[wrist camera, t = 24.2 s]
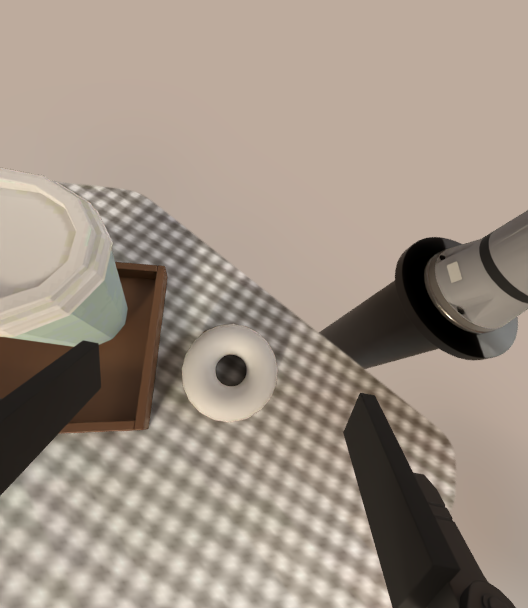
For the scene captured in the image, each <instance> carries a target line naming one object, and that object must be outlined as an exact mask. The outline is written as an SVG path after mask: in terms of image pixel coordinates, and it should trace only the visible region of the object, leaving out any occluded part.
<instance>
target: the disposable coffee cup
mask: <svg viewBox="0 0 528 608" xmlns="http://www.w3.org/2000/svg"><path fill="white" fill-rule="evenodd" d="M112 245H113V242H112V240H111V238H110V236H109V233H108V231H107V229H106V227H105V225H104V223H103V221H102V219H101V217H100V215H99V213H98V211H97V210H95V209H94V207H93V206H92V204H91V203H90V202H88V201H87V200H85V199H84V198H82V197H80V196H79V195H77V194H75V193H74V192H72V191H70V190H69V189H67V188H65V187H64V186H62V185H61V184H59V183H57V182H56V181H51V180H49V179H48V178H46V177H45V176H41V175H36V174H31V173H26V172H21V171H16V170H11V169H6V168H1V167H0V337H8V338H15V339H22V340H29V341H36V342H44V343H51V344H58V345H65V346H72V347H74V346H76V345H77V344H79V343H80V342H81V341H83V340H85V341H90V342H95V343H99V345H100V344H102V343H104V342H107V341H109V340H111V339H113V338H114V337H115V336H116V334H117V333H118V332H119V331H120V330H121V329H122V327H123V326H124V325H125V321H126V316H127V311H128V307H127V304H126V300H125V296H124V293H123V289H122V286H121V282H120V278H119V275H118V271H117V268H116V264H115V260H114V257H113V253H112V250H111V249H112Z"/></svg>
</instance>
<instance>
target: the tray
mask: <svg viewBox="0 0 528 608" xmlns="http://www.w3.org/2000/svg"><path fill="white" fill-rule="evenodd" d="M115 264H116V268H117V271H118V275H119V278H120V282H121V286H122V289H123V293H124V296H125V300H126V304H127V307H128V311H127V316H126V321H125V325H124V326H123V327H122V329H121V330H120V331H119V332H118V333H117V334H116V336H115V337H114V338H113V339H111V340H109V341H107V342H104V343H102V344H100V345H99V356H100V374H101V389H100V390H99V391H98V392H97V393H96V394H95V395H94V396H93V397H92V398H91V399H90V400H89V401H88V402H87V404H86V405H85V406H84V407H83V408H82V409H81V410H80V411H79V412H78V413H77V414H76V415H75V416H74V417H73V418H72V420H71V421H70V422H69V423H68V424H67V425H66V426H65V427H64V428H63V429H62V430H61V431H60V432H59V433H58V434H62V433H85V432H107V431H130V430H144V429H148V428H149V422H150V414H151V406H152V397H153V389H154V381H155V373H156V365H157V357H158V349H159V341H160V333H161V325H162V317H163V309H164V301H165V293H166V285H167V273H166V268H165V266H157V265H145V264H133V263H121V262H115ZM72 348H73V347H72V346H65V345H58V344H51V343H44V342H36V341H29V340H22V339H15V338H8V337H0V398H2V399H3V398H4V397H5V396H7V395H8V394H10V393H11V392H12V391H14V390H15V389H16V388H18V387H19V386H21V385H22V384H23V383H25V382H26V381H28V380H29V379H30V378H32V377H33V376H34V375H36V374H37V373H39V372H40V371H41V370H43V369H44V368H45V367H47V366H48V365H50V364H51V363H52V362H54V361H55V360H56V359H58V358H59V357H61V356H62V355H63V354H65V353H66V352H68V351H69V350H70V349H72Z"/></svg>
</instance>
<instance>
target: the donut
mask: <svg viewBox="0 0 528 608" xmlns="http://www.w3.org/2000/svg"><path fill="white" fill-rule="evenodd" d="M226 355H236V356H238V357H240V358H241V359H242V360H243V361H244V362H245V364H246V367H247V374H246V377H245V379H244V380H243V381H242V382H241V383H240V384H238V385H237V386H232V387H230V386H225V385H224V384H222V383H221V382H220V381H219V380H218V379H217V376H216V372H215V369H216V365H217V363H218V361H219V360H220V359H221V358H222V357H224V356H226ZM277 373H278V368H277V363H276V358H275V354H274V353H273V351H272V349H271V347H270V345H269V343H268V342H267V341H266V340H265V339H264V338H263V337H262V336H261V335H260V334H259V333H257V332H256V331H254V330H252V329H250V328H248V327H246V326H241V325H235V324H228V325H219V326H216V327H214V328H212V329H209V330H207V331H205V332H204V333H203V334H202V335H200V336H199V337H198V338H197V339H196V340H195V341H194V342H193V344H192V345H191V347H190V348H189V350H188V352H187V353H186V355H185V359H184V363H183V367H182V380H183V387H184V390H185V392H186V394H187V397H188V399H189V401H190V402H191V403H192V404H193V405H194V406H195V408H196V409H197V410H198V411H199V412H200V413H202V414H204V415H206V416H208V417H210V418H211V419H213V420H217V421H225V422H234V421H239V420H244V419H247V418H249V417H250V416H252V415H254V414H255V413H257V412H259V411H260V410H261V409H262V408H263V406H264V405H265V404H266V403H267V402H268V401H269V399H270V398H271V396H272V393H273V391H274V389H275V386H276V383H277Z"/></svg>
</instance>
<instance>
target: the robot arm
mask: <svg viewBox="0 0 528 608" xmlns="http://www.w3.org/2000/svg"><path fill="white" fill-rule="evenodd" d="M423 285H424V289H425V292H426V295H427V297H428V299H429V301H430V302H431V304H432V306H433V307H434V308H435V310H436V311H437V312H438V313H439V314H440V316H441V317H442V318H444V319H445V320H446V321H447V322H448V323H449V324H451V325H452V326H454V327H456V328H457V329H459V330H461V331H464V332H467V333H470V334H484V333H488V332H491V331H495V330H497V329H499V328H501V327H503V326H504V325H506V324H507V323H509V322H510V321H511V320H513V319H514V318H516V317H517V316H518V315H520V314H521V313H523V312H524V311H525V310H527V309H528V210H527V211H526V212H524V213H523V214H521V215H519V216H518V217H516V218H514V219H513V220H512V221H509V222H508V223H506V224H505V225H503V226H501V227H500V228H498V229H496V230H495V231H493V232H492V233H490V234H489V235H487V236H485V237H483V238H482V239H480V240H476V241H473V242H470V243H466V244H463V245H459V246H456V247H453V248H449V249H446V250H444V251H442V252H439V253H438V254H436V255H435V256H433V257H432V258H430V259H429V260H428V261H427V263H426V264H425V266H424V269H423ZM100 389H101V374H100V356H99V343H95V342H90V341H85V340H83V341H81V342H80V343H79V344H77V345H76V346H74V347H73V348H72V349H70V350H69V351H68V352H66V353H65V354H63V355H62V356H61V357H59V358H58V359H56V360H55V361H54V362H52V363H51V364H50V365H48V366H47V367H45V368H44V369H43V370H41V371H40V372H39V373H37V374H36V375H34V376H33V377H32V378H30V379H29V380H28V381H26V382H25V383H23V384H22V385H21V386H19V387H18V388H16V389H15V390H14V391H12V392H11V393H10V394H8V395H7V396H5V397H4V398H3V399H2V398H0V495H1V494H2V493H3V492H4V491H5V490H6V489H7V488H8V487H9V486H10V485H11V484H12V483H13V482H14V480H15V479H16V478H17V477H18V476H19V475H20V474H21V473H22V472H23V471H24V470H25V469H26V468H27V467H28V466H29V464H30V463H31V462H32V461H33V460H34V459H35V458H36V457H37V456H38V455H39V454H40V453H41V452H42V451H43V449H44V448H45V447H46V446H47V445H48V444H49V443H50V442H51V441H52V440H53V439H54V438H55V437H56V436H57V435H58V433H59V432H60V431H61V430H62V429H63V428H64V427H65V426H66V425H67V424H68V423H69V422H70V421H71V420H72V418H73V417H74V416H75V415H76V414H77V413H78V412H79V411H80V410H81V409H82V408H83V407H84V406H85V405H86V404H87V402H88V401H89V400H90V399H91V398H92V397H93V396H94V395H95V394H96V393H97V392H98V391H99V390H100ZM343 433H344V436H345V440H346V444H347V447H348V451H349V454H350V458H351V461H352V465H353V468H354V472H355V476H356V479H357V483H358V486H359V490H360V493H361V497H362V500H363V504H364V508H365V511H366V515H367V518H368V522H369V525H370V529H371V532H372V536H373V539H374V543H375V547H376V550H377V554H378V557H379V561H380V564H381V568H382V571H383V575H384V579H385V582H386V586H387V589H388V593H389V596H390V600H391V603H392V607H393V608H515V606H514V605H513V603H512V602H511V601H510V600H509V599H508V598H507V597H506V596H505V595H504V594H503V593H502V592H501V591H500V590H499V589H497V588H496V587H494V586H493V585H491V584H490V583H488V581H487V580H486V578H485V577H484V575H483V573H482V571H481V570H480V568H479V566H478V564H477V562H476V561H475V559H474V557H473V555H472V553H471V552H470V550H469V548H468V546H467V544H466V543H465V540H464V539H463V537H462V535H461V533H460V531H459V530H458V528H457V526H456V524H455V522H453V521H452V517H451V515H450V513H449V511H448V509H447V508H445V504H444V502H443V500H442V498H441V497H440V495H439V493H438V491H437V489H436V488H435V487H434V486H433V485H432V483H431V482H430V481H429V480H428V479H427V478H426V476H425V475H423V474H417V473H413V472H412V470H411V468H410V466H409V464H408V461H407V459H406V457H405V455H404V453H403V451H402V449H401V447H400V445H399V443H398V441H397V439H396V437H395V435H394V433H393V431H392V429H391V427H390V425H389V423H388V421H387V419H386V417H385V415H384V413H383V411H382V409H381V407H380V405H379V403H378V401H377V399H376V397H375V395H369V394H364V393H360V394H359V397H358V399H357V401H356V404H355V406H354V408H353V411H352V413H351V416H350V418H349V420H348V423H347V425H346V428H345V430H344V432H343Z"/></svg>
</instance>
